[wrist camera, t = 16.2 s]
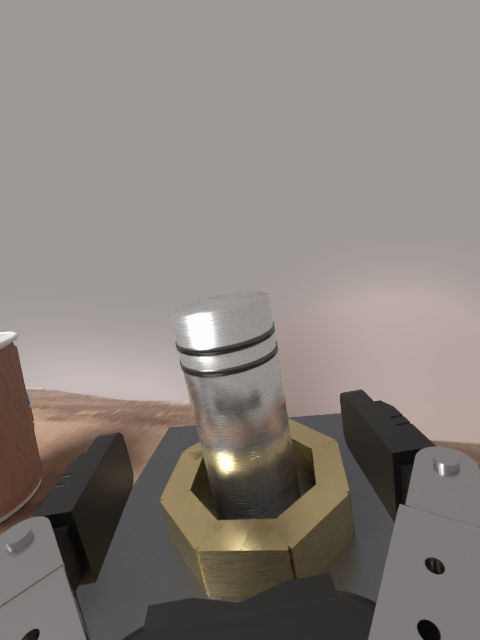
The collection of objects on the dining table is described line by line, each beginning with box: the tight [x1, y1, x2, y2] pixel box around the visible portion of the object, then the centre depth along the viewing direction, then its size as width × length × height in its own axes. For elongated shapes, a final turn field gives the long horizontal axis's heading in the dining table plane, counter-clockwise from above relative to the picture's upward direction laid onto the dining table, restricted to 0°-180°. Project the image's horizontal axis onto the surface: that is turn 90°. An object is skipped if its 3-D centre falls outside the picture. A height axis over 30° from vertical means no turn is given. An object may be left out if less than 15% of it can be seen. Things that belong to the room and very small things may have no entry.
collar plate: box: [76, 413, 395, 640], centre depth 18 cm, size 18×18×3 cm
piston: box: [170, 292, 301, 520], centre depth 17 cm, size 5×5×12 cm
